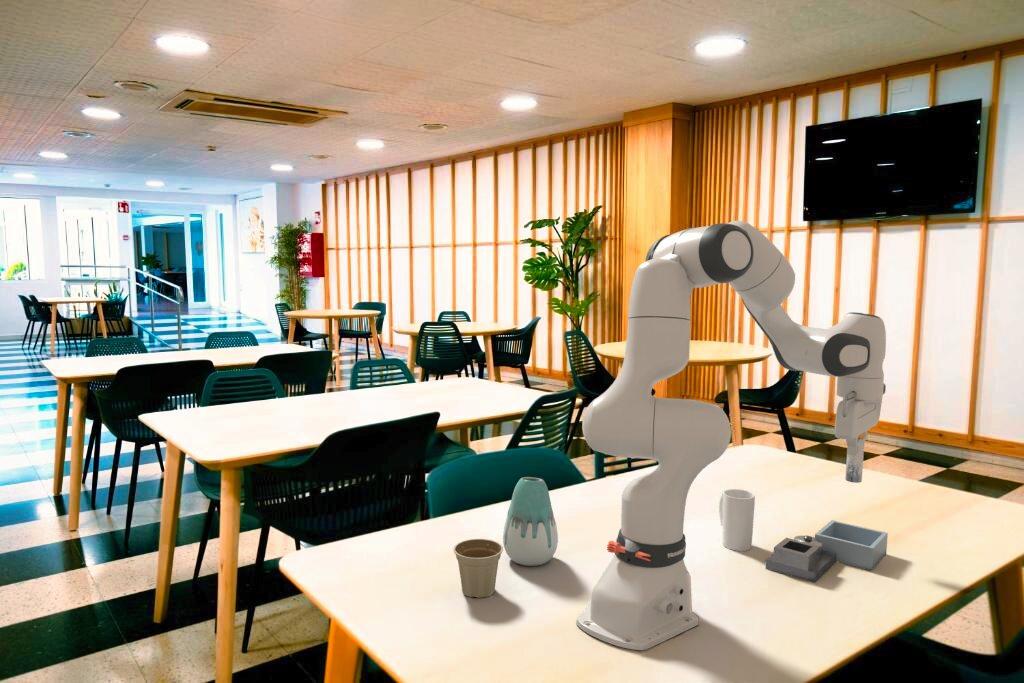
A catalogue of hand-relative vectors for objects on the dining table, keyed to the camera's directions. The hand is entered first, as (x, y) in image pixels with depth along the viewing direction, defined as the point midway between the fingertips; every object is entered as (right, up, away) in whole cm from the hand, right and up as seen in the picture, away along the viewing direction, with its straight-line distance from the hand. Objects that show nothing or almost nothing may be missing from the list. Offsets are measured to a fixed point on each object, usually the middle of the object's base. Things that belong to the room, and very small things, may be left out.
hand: (855, 452), depth 153 cm
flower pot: (-80, -24, -17) cm, 86 cm away
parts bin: (0, -23, +2) cm, 23 cm away
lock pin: (0, -6, +1) cm, 6 cm away
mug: (-24, -22, +8) cm, 34 cm away
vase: (-70, -23, -2) cm, 74 cm away
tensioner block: (-13, -23, -4) cm, 27 cm away
